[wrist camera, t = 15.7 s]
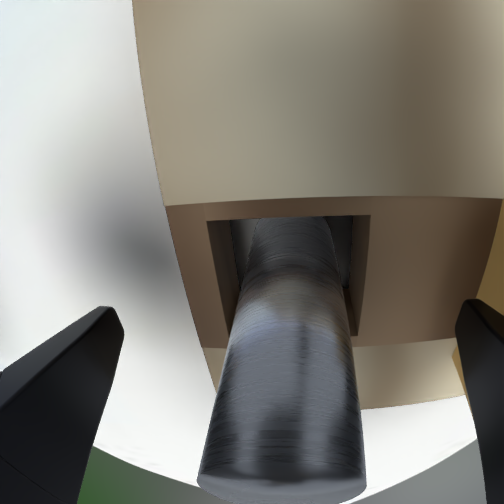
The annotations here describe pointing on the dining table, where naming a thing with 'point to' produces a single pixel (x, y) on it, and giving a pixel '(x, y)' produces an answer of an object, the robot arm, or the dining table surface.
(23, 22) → the dining table surface
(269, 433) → the peg
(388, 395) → the subfloor board
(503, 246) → the block
